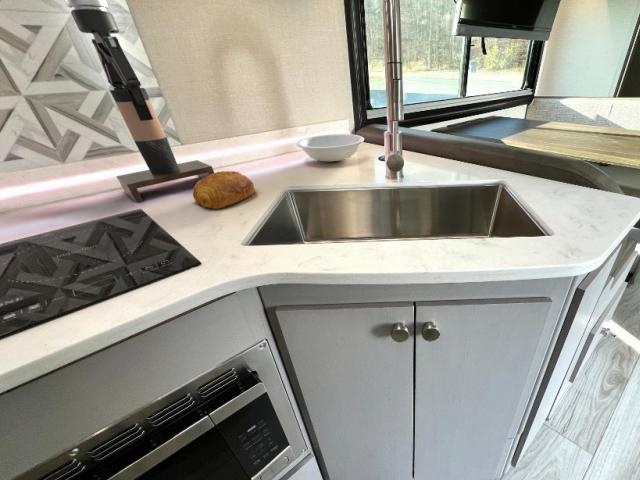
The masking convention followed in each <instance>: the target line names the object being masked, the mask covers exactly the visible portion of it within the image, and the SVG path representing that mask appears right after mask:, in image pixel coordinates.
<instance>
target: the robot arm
mask: <svg viewBox="0 0 640 480" xmlns="http://www.w3.org/2000/svg"><path fill="white" fill-rule="evenodd" d="M63 1H64V3H65V4H66V6H67V7H68V8H70V9H71V11H70V14H71V16H72V18H73V21H74V23H75V25H76V27H77V28H78V30H79V32H81V33H83V34H92V36H93V38H92V39H91V43H92V45H93V47H94V49H95V51H96V54H97V56H98V59H99V61H100V64H101V66H102V69H103V72H104V74H105V76H106V78H107V82H108V84H109V85H111V87H112V88H113V90H117V89H124V90H127V92H128V95H129V97H130V99H131V101H132V103H133V105H134V108H135V110H136V112H137V114H138V116H139V119H140V121H145V120H153V118H152V115H151V113H150V111H149V108H148V106H147V104H146V101H145V99H144V97H143V95H142V92H141V90H140V88H141V86H142V83H141V81H140V79H139V78H138V76H137V74H136V73H135V71H134V69H133V66H131V63H130V61H129V59H128V58H127V56H126V53H125V52H124V50H123V48H122V46H121V43H120V42H119V39H118V38H117V36H113V35H114V34H119V33H120V29H119V26H118V24H117V21H116V19H115V18H114V15H113V14H112V13H111V12H110V11H108V9H109V8H110V7H109V5H108V2H107V0H63Z"/></svg>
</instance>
